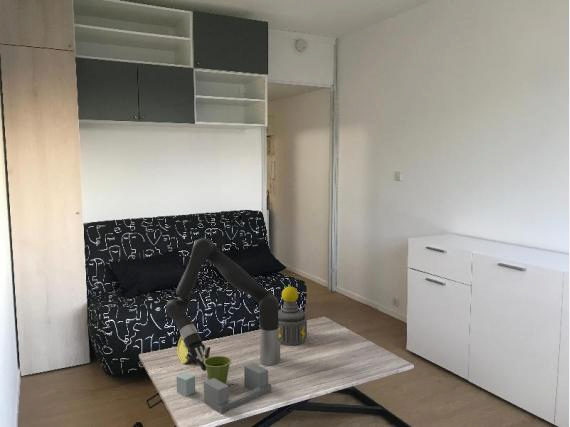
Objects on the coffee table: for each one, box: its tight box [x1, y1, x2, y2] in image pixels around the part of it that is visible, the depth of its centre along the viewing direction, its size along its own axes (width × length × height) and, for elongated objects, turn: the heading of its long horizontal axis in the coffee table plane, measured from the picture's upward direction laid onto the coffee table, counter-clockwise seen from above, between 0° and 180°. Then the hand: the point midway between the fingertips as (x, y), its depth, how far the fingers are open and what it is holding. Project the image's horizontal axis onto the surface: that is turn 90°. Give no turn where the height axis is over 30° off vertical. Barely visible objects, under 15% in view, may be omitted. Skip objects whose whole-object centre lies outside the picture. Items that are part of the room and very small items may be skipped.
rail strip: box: [218, 383, 272, 415], centre depth 192 cm, size 26×2×3 cm, turn 134°
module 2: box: [203, 378, 230, 413], centre depth 189 cm, size 5×10×9 cm, turn 44°
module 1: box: [175, 372, 196, 397], centre depth 200 cm, size 5×6×7 cm
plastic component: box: [176, 336, 206, 365], centre depth 239 cm, size 20×7×10 cm
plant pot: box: [204, 355, 232, 385], centre depth 205 cm, size 12×12×11 cm
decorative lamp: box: [278, 286, 308, 346], centre depth 259 cm, size 19×19×30 cm
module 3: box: [243, 362, 269, 390], centre depth 203 cm, size 5×10×9 cm, turn 44°
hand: (206, 369), depth 212 cm, fingers closed
